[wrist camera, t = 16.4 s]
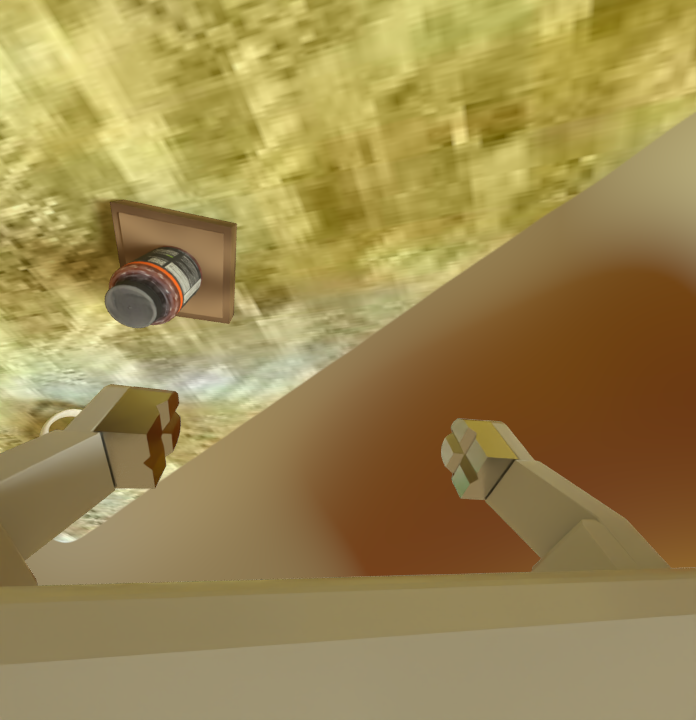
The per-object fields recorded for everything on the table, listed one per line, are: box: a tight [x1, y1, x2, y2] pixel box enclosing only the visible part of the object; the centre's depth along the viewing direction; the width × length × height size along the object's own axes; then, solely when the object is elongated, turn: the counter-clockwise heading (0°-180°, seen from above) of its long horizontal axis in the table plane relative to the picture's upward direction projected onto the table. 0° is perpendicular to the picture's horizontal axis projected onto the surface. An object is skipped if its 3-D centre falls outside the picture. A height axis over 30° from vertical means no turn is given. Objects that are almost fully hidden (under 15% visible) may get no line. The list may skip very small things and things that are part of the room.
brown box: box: [110, 200, 237, 324], centre depth 37 cm, size 12×12×3 cm
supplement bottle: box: [105, 246, 202, 328], centre depth 30 cm, size 6×6×11 cm
